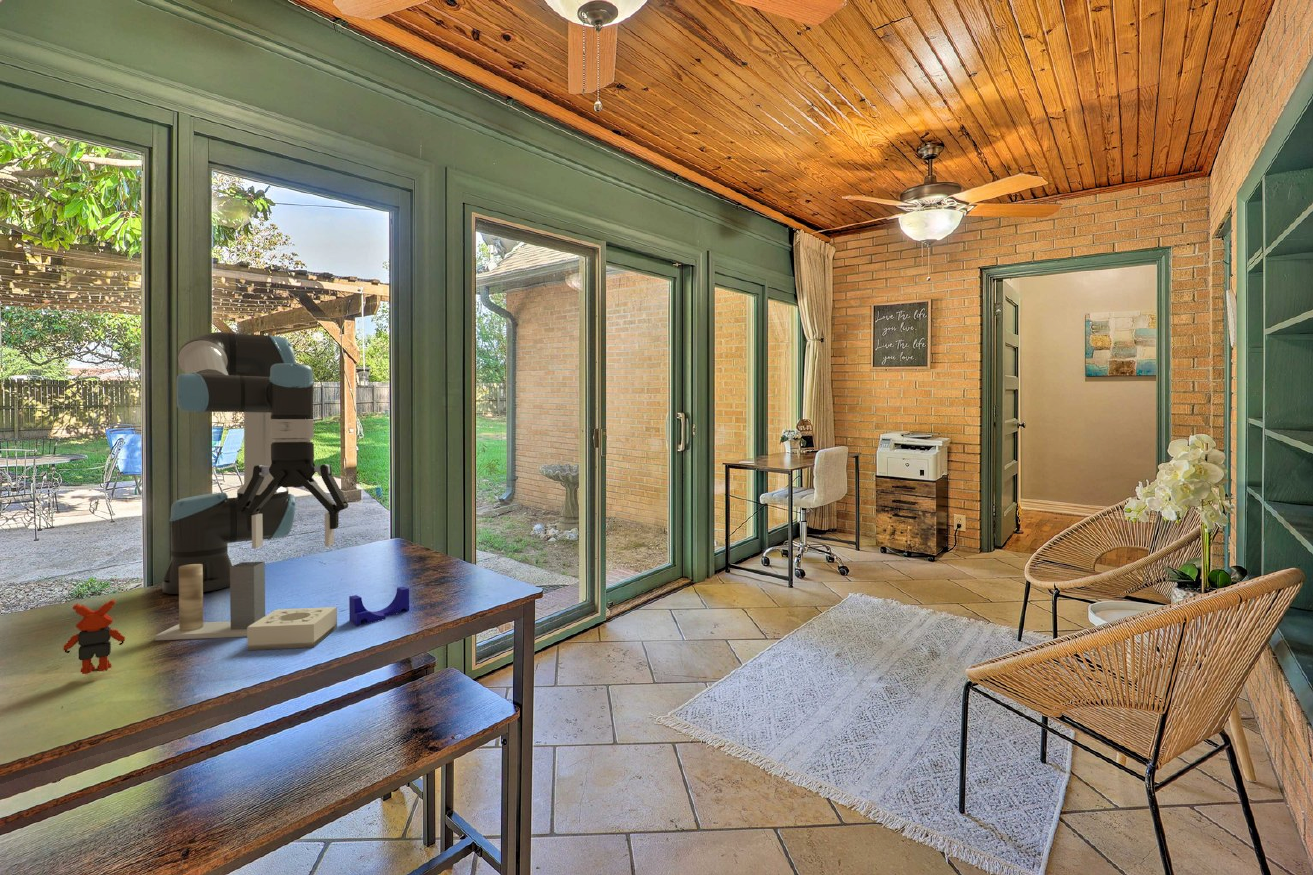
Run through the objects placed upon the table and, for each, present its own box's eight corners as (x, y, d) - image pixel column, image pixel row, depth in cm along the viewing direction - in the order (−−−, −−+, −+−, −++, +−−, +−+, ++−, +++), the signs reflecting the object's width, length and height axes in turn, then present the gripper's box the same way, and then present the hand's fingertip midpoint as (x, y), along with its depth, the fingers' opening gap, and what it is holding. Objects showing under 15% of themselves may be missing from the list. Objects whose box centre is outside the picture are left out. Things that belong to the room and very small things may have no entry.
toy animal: (127, 659, 116) (126, 594, 116) (124, 668, 111) (123, 600, 111) (68, 668, 111) (67, 601, 111) (62, 678, 107) (61, 608, 107)
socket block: (276, 630, 132) (276, 609, 132) (337, 628, 134) (336, 606, 134) (247, 650, 120) (247, 626, 120) (314, 647, 122) (313, 624, 122)
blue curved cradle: (357, 628, 134) (357, 600, 134) (349, 623, 138) (349, 596, 137) (412, 616, 143) (411, 589, 143) (403, 612, 146) (403, 586, 146)
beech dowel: (186, 625, 133) (186, 564, 132) (207, 624, 133) (206, 563, 133) (174, 631, 129) (174, 568, 128) (196, 630, 129) (195, 567, 129)
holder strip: (179, 628, 134) (179, 623, 134) (280, 623, 137) (280, 619, 137) (155, 640, 126) (155, 635, 126) (262, 635, 129) (262, 630, 129)
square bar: (242, 622, 134) (241, 562, 134) (265, 621, 135) (264, 561, 135) (230, 629, 130) (229, 566, 130) (254, 628, 130) (253, 566, 130)
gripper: (214, 441, 121) (216, 551, 121) (351, 440, 124) (352, 547, 125) (235, 441, 129) (236, 544, 129) (363, 440, 132) (364, 541, 132)
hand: (293, 546), depth 127 cm, fingers open, 13 cm apart
